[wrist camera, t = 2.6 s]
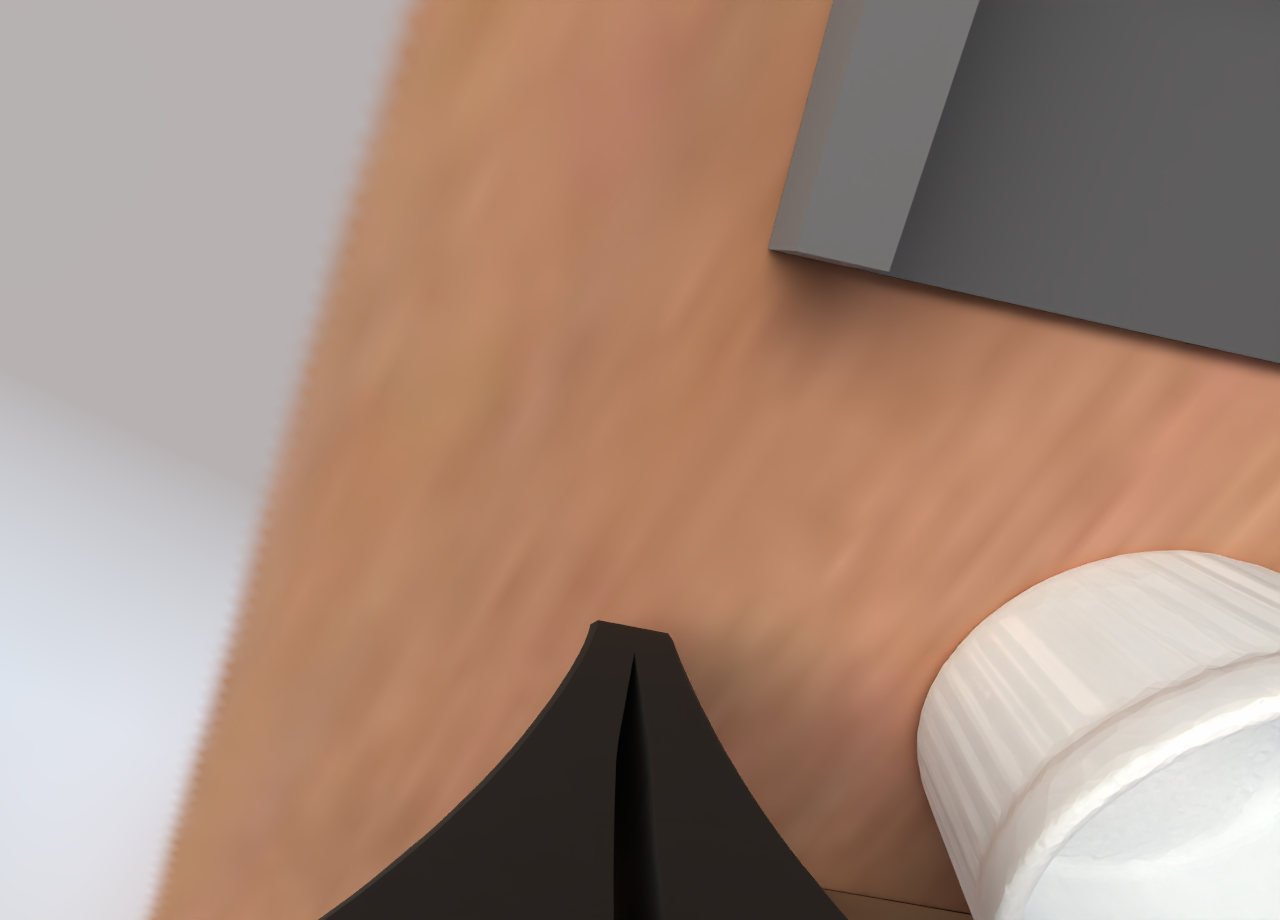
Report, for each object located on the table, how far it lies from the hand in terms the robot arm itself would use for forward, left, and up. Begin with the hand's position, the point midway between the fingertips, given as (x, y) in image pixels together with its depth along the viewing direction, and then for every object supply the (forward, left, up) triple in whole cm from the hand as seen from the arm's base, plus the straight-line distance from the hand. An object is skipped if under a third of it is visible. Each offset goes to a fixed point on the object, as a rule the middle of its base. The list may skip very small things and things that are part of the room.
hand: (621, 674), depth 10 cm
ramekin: (-10, 0, -2) cm, 10 cm away
